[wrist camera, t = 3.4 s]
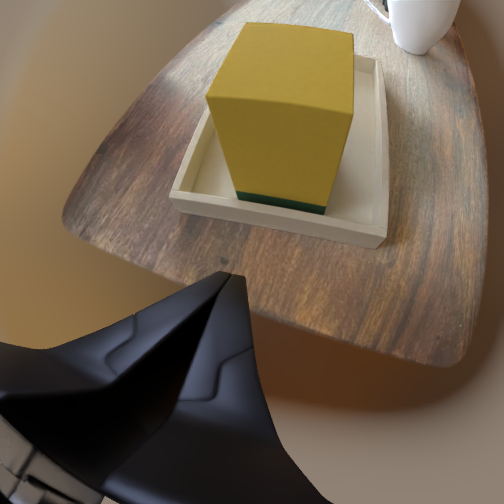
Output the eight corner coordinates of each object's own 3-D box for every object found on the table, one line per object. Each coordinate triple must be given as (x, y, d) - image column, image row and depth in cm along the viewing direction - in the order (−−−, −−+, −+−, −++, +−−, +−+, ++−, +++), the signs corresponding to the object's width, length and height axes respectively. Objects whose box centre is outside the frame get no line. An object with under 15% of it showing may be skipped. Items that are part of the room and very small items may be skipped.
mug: (434, 44, 25) (453, -16, 14) (441, 73, 23) (470, 4, 12) (354, 17, 27) (361, -48, 17) (349, 41, 26) (358, -37, 15)
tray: (375, 250, 19) (387, 238, 16) (179, 212, 21) (168, 197, 18) (376, 75, 23) (381, 58, 21) (243, 56, 26) (240, 39, 23)
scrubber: (323, 216, 19) (353, 114, 10) (237, 201, 20) (204, 96, 10) (333, 138, 21) (353, 33, 11) (259, 126, 22) (245, 21, 12)
